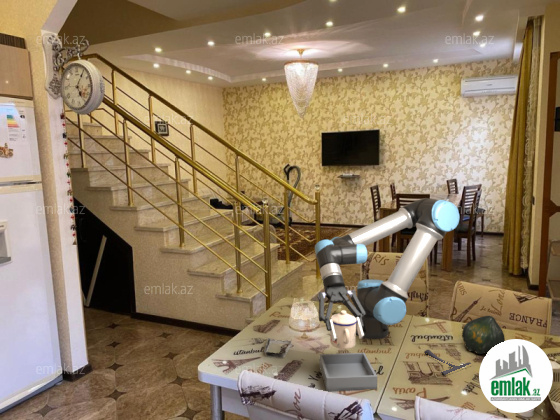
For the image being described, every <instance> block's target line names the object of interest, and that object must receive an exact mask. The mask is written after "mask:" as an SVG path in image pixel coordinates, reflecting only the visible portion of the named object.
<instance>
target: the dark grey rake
mask: <svg viewBox="0 0 560 420" xmlns="http://www.w3.org/2000/svg"><path fill="white" fill-rule="evenodd" d="M424 353H425V354H426V353H427V354H428V355H429V356H431V357H433V358H435V359H437V360H439V361H441V362H443V361H444V362H443V363H445V361H446V360H444V359H442V358H440V357H439V356H437V355H436V354H435V353H434V352H432V351H431V350H430V349H426V350H424V352H423V354H424ZM448 362H449V361H447V363H446V364H448ZM464 363H465V362H464ZM464 363H462V364H463V365H460V366H455V365H452V364H450V363H449V364H448V365H449V366H451V367H453V368H452V369H451V368H448V369H449V370H446V371H443V372H442V371H441V372H440V374H441V373H443V374H442V375H443V376H444V375H446V374H448V373H450V372H452V371H455V370H457V369H460V368H462V367H465V366H466V365H469V364H472V363H471V362H470V361H468V362H466V363H465V364H464Z"/></svg>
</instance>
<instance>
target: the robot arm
mask: <svg viewBox="0 0 560 420" xmlns="http://www.w3.org/2000/svg"><path fill="white" fill-rule="evenodd" d="M459 222H460V213H459V209H458V207H457V206H456V204H454V203H453V202H452V201H447V200H444V199H436V198H430V197H425V198H420V199H417V200H415V201H412V202H411V203H408V204H406V205H403V206H402V207H400V208H399V209H398V211H396V212H394V213H391V214H390V215H389V214H388V215H387V216H385V217H383V218H380V219H378V220H377V221H374V222H372V223H370V224H368V225H365V226H363V227H361V228H359V229H357V230H354V231H353V232H350V233H348V234H345V235H342V236H334V237H332V238H331V239H321V240H320V241H318V242H316V244H315V245H314V251H315V258H316V262H317V264H318V268H319V272H320V276H321V280H322V284H323V289H324V292H321V291H320V292H318V294H317V299H318V321H319V322H323V323H324V324H325V326H326V330H327V332H329V333H330V335H331V338H332V341H335V340H336V334H335V330H334V326H333V322H332V319H331V320H330V318H331V314H332V310H333V307H334V304H343V305H344V306H345V307H346V308H347V309H348V311H349V312H350V313H351V315H352V316H354V317H355V318H356V320H357V322H356V337H359V338H358V339H366V340H381V339H384V338H386V337H388V336H387V335H389V326H393V325H396V324H398V323H400V322H402V320H404V318H405V316H406V314H407V306H406V303H407V301H408V299H409V296H408V291H409V289H410V288H411V286H412V284H413V282H414V280H416V278H417V276H418V274H419V272H420V270H421V269H422V267H423V265H424V264H425V262H426V260H427V259H428V256H429V255H430V254H431V252H432V250H433V248H434V246H435V244H436V243H437V241H439V240H442V239H444V237H445V236H446V235H447V233H448V232H451V231H454V229H456V228H457V226H458V225H459ZM414 227H416V231H415V233H414V234H413V236H412V237H411V239H410V241H409V243H408V245H407V246H406V248H405V250H404V251H403V253H402V255H401V257H400V258H399V260H398V261H397V263H396V265H395V267H394V269H393V271H392V272H391V273H390V276H389V277H388V279H387V280H386V281H385V280H381V279H362V280H358V282H357V287H356V289H352V290H348V289H347V288H346V284H345V280H344V278H343V273H342V270H341V267H340V266H343V265H358V264H359V265H360V264H364V263H366V261H367V259H368V250H367V249H368V248H367V247H366V246H368V245H371V244H373V243H375V242H377V241H381V240H382V239H384V238H386V237H388V236H391V235H392V234H395V233H397V232H399V231H401V230H404V229H406V228H408V229H412V228H414ZM347 295H348V296H349V297H348V296H347ZM325 298H327V299H328V305H327V309H326V312H325ZM350 299H351V301H350Z"/></svg>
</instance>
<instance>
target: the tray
mask: <svg viewBox="0 0 560 420" xmlns="http://www.w3.org/2000/svg"><path fill="white" fill-rule="evenodd" d="M318 357H319V359H318V360H319V365H318V366H319V369H320V373H321V376H322V381H323V382H324V386H325V391H326V392H344V391H345V392H346V391H347V392H348V391H351V392H352V391H364V390H363V389H377V390H378V375H377V373H376V371H375V369H374V367H373V366H372V364H371V362H370V360H369V358H368V357H367V355H366V353H365V352H351V353H350V352H348V353H345V352H344V353H320V354H319V356H318Z"/></svg>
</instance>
